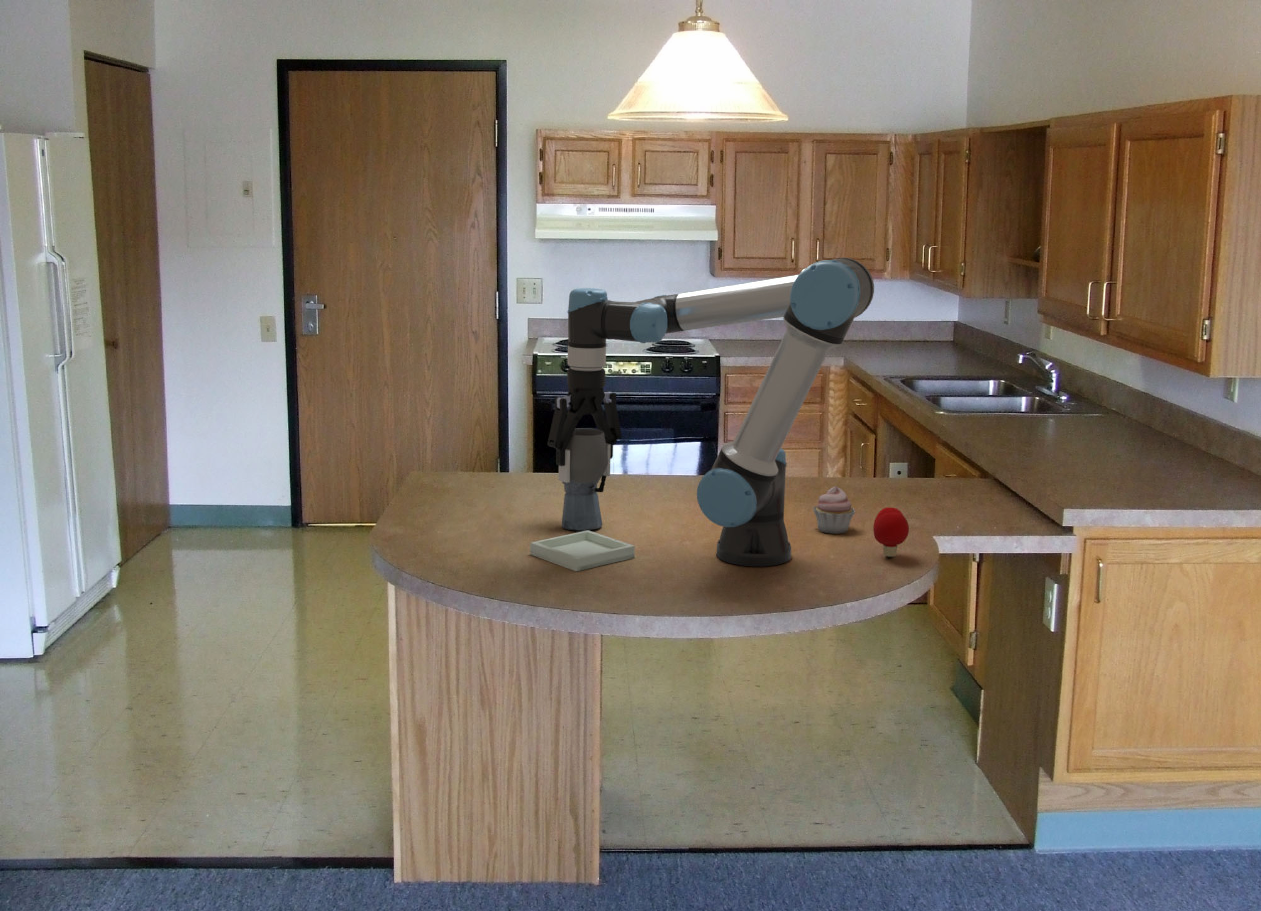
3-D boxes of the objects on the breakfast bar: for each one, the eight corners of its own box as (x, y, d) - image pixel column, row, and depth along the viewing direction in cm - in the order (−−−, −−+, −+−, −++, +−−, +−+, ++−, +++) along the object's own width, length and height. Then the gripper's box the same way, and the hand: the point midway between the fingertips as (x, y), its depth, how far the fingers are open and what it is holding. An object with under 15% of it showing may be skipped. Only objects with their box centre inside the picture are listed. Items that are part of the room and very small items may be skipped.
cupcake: (818, 537, 283) (820, 491, 281) (806, 525, 292) (808, 481, 290) (860, 535, 284) (862, 490, 282) (847, 524, 293) (849, 480, 291)
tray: (634, 557, 266) (634, 545, 266) (576, 571, 257) (576, 559, 256) (587, 541, 277) (588, 530, 277) (530, 554, 268) (530, 542, 267)
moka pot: (572, 517, 297) (572, 430, 293) (624, 529, 287) (625, 439, 283) (543, 525, 290) (542, 436, 285) (596, 538, 280) (596, 446, 276)
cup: (616, 483, 263) (617, 434, 261) (576, 488, 258) (576, 438, 256) (592, 473, 271) (592, 425, 269) (552, 478, 266) (553, 429, 264)
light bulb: (868, 551, 273) (871, 504, 270) (902, 551, 272) (905, 504, 270) (875, 564, 264) (878, 515, 261) (910, 564, 263) (913, 516, 261)
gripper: (618, 360, 269) (616, 467, 274) (529, 369, 256) (528, 481, 261) (641, 365, 264) (638, 474, 269) (551, 374, 250) (550, 489, 255)
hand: (584, 477), depth 265 cm, fingers closed on cup, 9 cm apart
